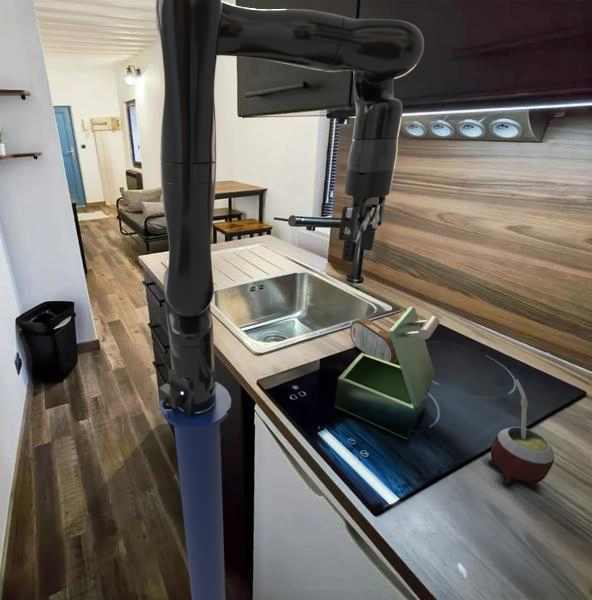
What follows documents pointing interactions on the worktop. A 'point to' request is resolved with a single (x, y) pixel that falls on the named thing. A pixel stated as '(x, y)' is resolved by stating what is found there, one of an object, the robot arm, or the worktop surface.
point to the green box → (378, 396)
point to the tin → (373, 340)
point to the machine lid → (414, 352)
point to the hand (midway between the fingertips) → (357, 255)
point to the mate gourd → (521, 452)
